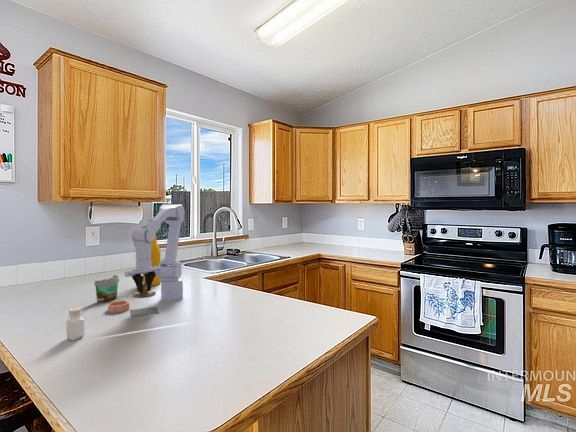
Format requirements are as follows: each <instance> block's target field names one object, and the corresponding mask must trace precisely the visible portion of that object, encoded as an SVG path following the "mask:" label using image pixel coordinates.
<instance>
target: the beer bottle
mask: <svg viewBox="0 0 576 432" xmlns="http://www.w3.org/2000/svg"><path fill="white" fill-rule="evenodd" d="M156 233H157V232H156ZM156 233H155V236H154V239H153V241H152V242H151V267H156V266H159V262H160V261H162V260H161V249H160V245H159V244H158V242H157V241H158V240H157V234H156ZM154 273H156V272H154ZM142 276H143V277H144V278H143V284H145V276H144V274H142ZM158 285H161V281H159V278H158V277H157V274H156V276H155V278H154V279H153V282H152V285H151V287H153V286H158Z"/></svg>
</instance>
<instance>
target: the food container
mask: <svg viewBox="0 0 576 432" xmlns="http://www.w3.org/2000/svg"><path fill="white" fill-rule="evenodd" d="M119 283H120V278H119V275H112V277H110V278H105V279H104V278H103V279H102V280H94V284H93V285H94V286H95V295H96V302H97V303H107V302H114V301H116V300H117V299H118V288H119V287H118V285H119Z"/></svg>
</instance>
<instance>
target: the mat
mask: <svg viewBox="0 0 576 432" xmlns="http://www.w3.org/2000/svg"><path fill="white" fill-rule="evenodd" d="M129 313H130V318H138V317H146V316H150V315H157V314H158V315H159V314H160V312H159V310H158V307H157V306H150V307H143V308H135V309H129Z"/></svg>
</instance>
